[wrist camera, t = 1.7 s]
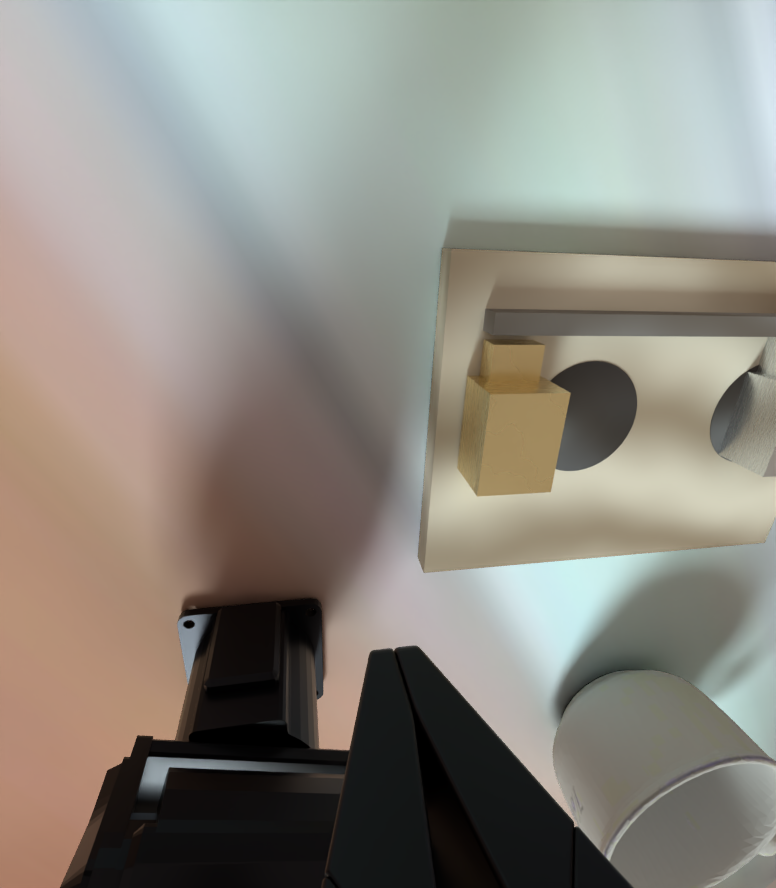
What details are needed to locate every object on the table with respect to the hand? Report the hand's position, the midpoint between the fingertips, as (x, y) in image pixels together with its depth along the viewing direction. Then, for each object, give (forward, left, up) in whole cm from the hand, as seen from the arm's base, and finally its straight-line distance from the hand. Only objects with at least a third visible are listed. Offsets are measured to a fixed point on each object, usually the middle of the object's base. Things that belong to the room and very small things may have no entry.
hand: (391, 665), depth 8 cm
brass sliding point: (0, -7, -11) cm, 13 cm away
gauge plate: (0, -14, -12) cm, 18 cm away
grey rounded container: (-21, -19, -13) cm, 31 cm away
